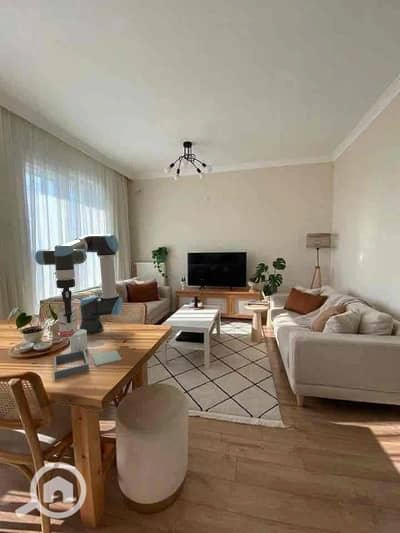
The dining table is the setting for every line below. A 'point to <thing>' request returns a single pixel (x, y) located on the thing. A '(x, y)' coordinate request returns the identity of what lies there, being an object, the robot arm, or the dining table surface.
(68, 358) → the bin
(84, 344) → the mug
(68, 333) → the ink cartridge box
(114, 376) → the dining table surface
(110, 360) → the mat
